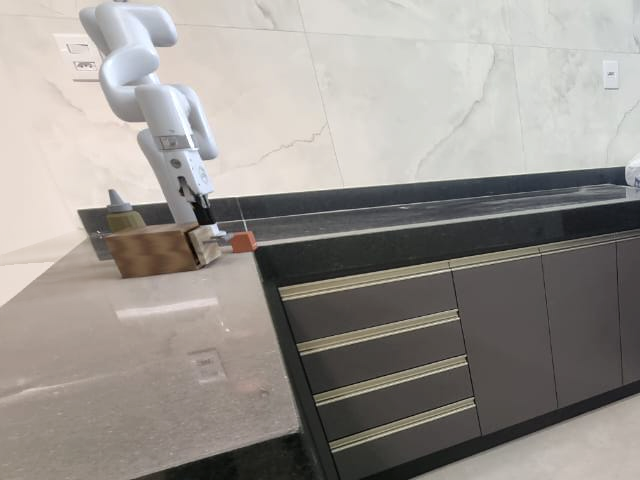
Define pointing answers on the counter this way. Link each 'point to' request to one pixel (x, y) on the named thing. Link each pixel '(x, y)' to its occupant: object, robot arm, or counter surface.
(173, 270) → the cabinet
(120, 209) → the squeeze bottle
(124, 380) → the counter surface
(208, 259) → the drawer
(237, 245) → the block
